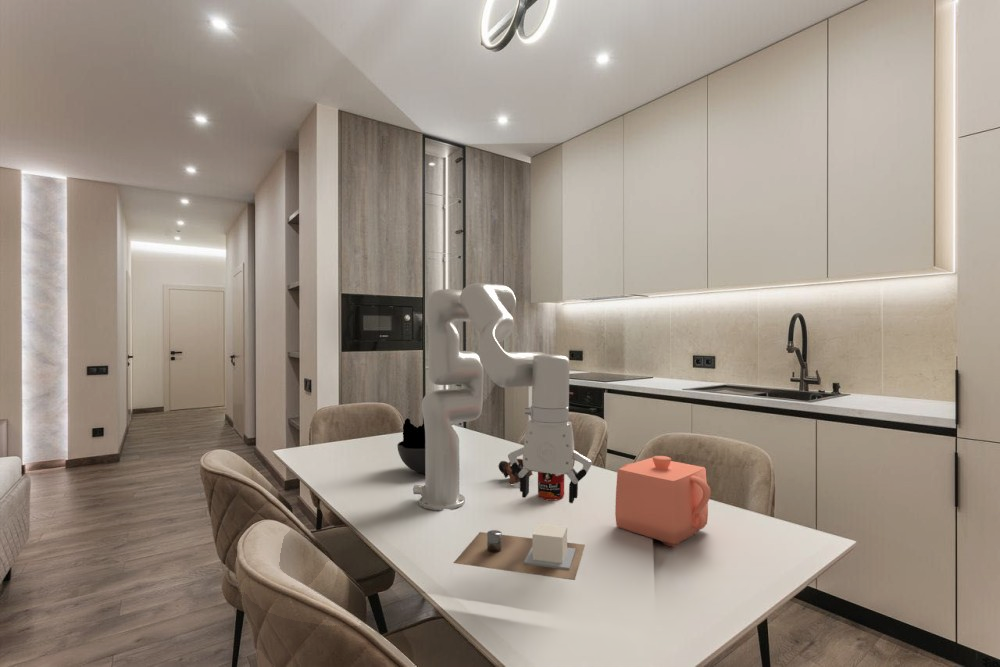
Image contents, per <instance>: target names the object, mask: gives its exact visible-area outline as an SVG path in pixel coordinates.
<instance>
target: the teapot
mask: <svg viewBox="0 0 1000 667" xmlns="http://www.w3.org/2000/svg"><path fill="white" fill-rule="evenodd" d="M711 494H712V492H711V487H710V486H709V484H708V483H707V470H706V468H705V467H704V466H700V465H694V464H688V463H685V462H678V461H673V460H672V458H671V457H669V456H665V455H655V456H652V457H649V458H646V459H643V460H639V461H636V462H633V463H626V464H625V465H623V466H622V467H620V468H618V469H617V473H616V488H615V505H614V506H615V510H614V511H615V512H614V514H615V524H616V527H617V528H619V529H622V530H625V531H628V532H631V533H635V534H638V535H641V536H644V537H646V538H647V537H648V538H650V539H655V540H657V541H660V542H662V544H663V545H665V546H668V547H678V546H679V545H680V543H682V542H683V541H684V540H687V539H689V537H691V535H692V536H695V535H696V533H697V532H699V531H701V530H702V529H704V528H705V527H706V525H708V518H709V517H708V516H709V501H710V499H711Z"/></svg>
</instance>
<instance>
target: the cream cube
mask: <svg viewBox="0 0 1000 667" xmlns="http://www.w3.org/2000/svg"><path fill="white" fill-rule="evenodd" d="M532 538H533V560H541V561H549V562H556V563H563V561H564V558H565V555H566V553H567V543H568V526H567V525H559V524H558V525H557V524H548V523H541V522H539V523H538V524H537V526H536V527H535V529H534V531H533V533H532Z"/></svg>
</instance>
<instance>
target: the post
mask: <svg viewBox="0 0 1000 667" xmlns="http://www.w3.org/2000/svg"><path fill="white" fill-rule="evenodd" d="M486 533H487V550H488V551H489V552H491V553H497V552H500V551H501V550H502V535H503V534H502V531H500V530H498V529H495V530H494V529H493V530H489V531H487V532H486Z"/></svg>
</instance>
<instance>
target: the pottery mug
mask: <svg viewBox="0 0 1000 667" xmlns="http://www.w3.org/2000/svg"><path fill="white" fill-rule="evenodd" d="M517 461H518V462H519V463H520V465H521V466H522V467H523V458H517ZM497 466H498V469H499V471H500V472H501V474H503V476H504V478H505V479H507V478H508V477H509V480H508V484H509V485H511V484H517V483H520V477H519V476H518V474H517V473H516V471H515V470H514V469H513V468H512V464H511V463H510V461H509V462H507V461H505V460H502V461H499V463H498V465H497ZM523 468H524V467H523ZM527 473H528V475H529V478H530V477H531V476H533V475H534V474H533V471H528V472H527Z"/></svg>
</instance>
